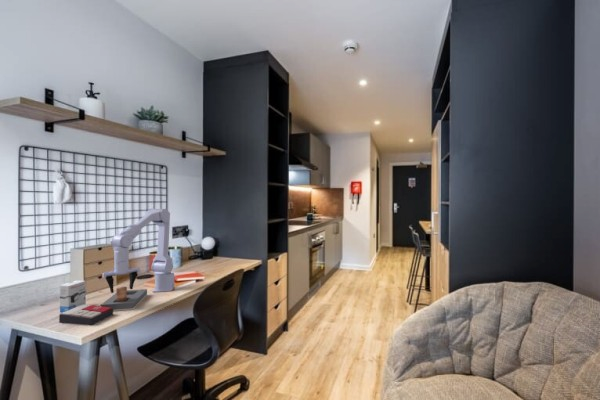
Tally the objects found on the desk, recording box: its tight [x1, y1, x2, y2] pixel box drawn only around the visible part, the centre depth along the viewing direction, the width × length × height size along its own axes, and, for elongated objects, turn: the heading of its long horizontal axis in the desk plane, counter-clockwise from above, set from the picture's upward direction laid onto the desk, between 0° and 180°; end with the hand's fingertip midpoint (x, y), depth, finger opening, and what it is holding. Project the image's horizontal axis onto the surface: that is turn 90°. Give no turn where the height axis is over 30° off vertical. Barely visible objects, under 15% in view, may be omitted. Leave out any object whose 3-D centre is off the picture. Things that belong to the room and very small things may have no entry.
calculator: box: [58, 304, 114, 326], centre depth 122 cm, size 11×4×15 cm
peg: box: [116, 286, 128, 302], centre depth 135 cm, size 4×4×8 cm
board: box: [100, 288, 148, 312], centre depth 140 cm, size 13×20×3 cm, turn 12°
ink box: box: [59, 279, 87, 313], centre depth 132 cm, size 8×5×12 cm, turn 168°
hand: (121, 290), depth 136 cm, fingers open, 7 cm apart
